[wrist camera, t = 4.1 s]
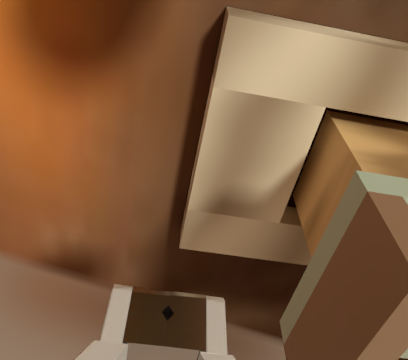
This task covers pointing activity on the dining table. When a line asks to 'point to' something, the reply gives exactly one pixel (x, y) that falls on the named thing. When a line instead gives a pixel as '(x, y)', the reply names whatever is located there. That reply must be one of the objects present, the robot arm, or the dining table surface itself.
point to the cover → (355, 279)
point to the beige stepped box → (278, 126)
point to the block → (345, 165)
